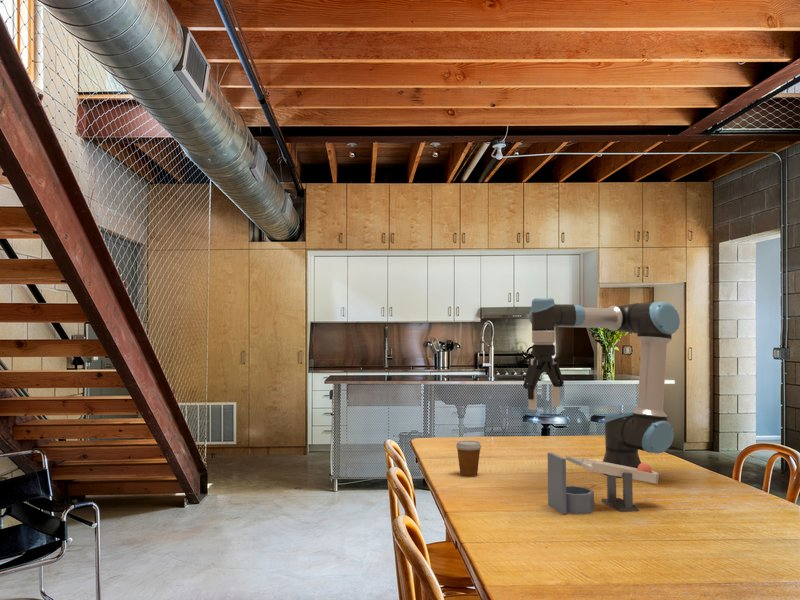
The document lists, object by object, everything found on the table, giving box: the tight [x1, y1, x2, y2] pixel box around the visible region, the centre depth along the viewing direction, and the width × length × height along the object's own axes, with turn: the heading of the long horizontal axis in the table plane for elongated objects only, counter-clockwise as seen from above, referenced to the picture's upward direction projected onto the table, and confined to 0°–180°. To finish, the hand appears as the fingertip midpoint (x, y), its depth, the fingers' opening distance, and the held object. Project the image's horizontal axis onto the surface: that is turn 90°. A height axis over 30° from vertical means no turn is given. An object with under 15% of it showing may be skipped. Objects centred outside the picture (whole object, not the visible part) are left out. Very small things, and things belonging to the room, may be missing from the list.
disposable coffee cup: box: [455, 440, 482, 478], centre depth 232 cm, size 10×10×12 cm
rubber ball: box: [638, 462, 652, 473], centre depth 192 cm, size 4×4×4 cm
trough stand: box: [601, 473, 640, 513], centre depth 191 cm, size 6×11×11 cm, turn 11°
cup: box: [547, 452, 595, 515], centre depth 188 cm, size 12×11×16 cm
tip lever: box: [565, 455, 660, 485], centre depth 196 cm, size 22×18×4 cm
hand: (544, 407), depth 207 cm, fingers open, 13 cm apart
